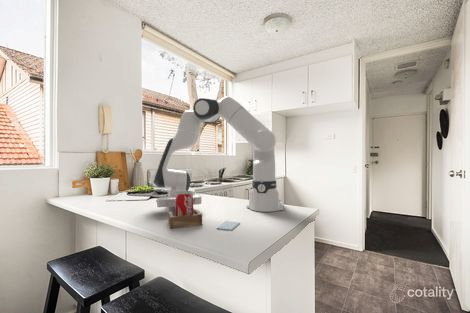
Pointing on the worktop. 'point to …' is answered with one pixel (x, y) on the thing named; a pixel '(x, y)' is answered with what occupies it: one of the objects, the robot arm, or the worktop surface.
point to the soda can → (184, 203)
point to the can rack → (185, 220)
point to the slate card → (228, 225)
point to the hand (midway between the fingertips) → (181, 204)
